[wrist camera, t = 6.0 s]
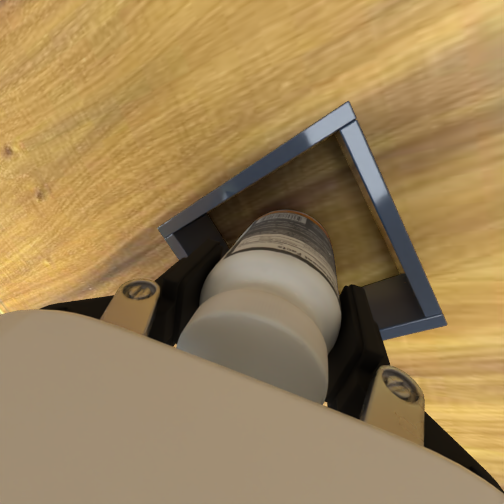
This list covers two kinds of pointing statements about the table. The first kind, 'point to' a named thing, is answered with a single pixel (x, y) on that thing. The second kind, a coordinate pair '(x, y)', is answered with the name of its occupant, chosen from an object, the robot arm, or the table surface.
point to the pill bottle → (272, 306)
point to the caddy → (378, 200)
